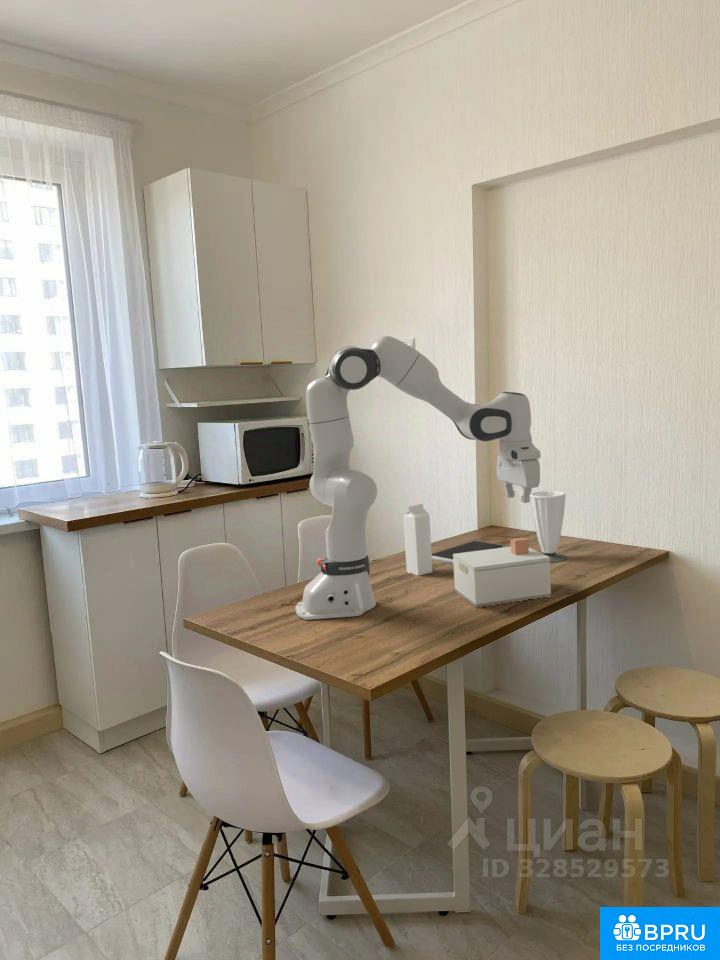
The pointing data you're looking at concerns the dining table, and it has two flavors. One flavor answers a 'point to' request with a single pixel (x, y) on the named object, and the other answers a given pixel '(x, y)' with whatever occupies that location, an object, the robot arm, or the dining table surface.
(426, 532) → the milk
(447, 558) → the smartphone
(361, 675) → the dining table surface
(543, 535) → the cup
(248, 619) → the dining table surface
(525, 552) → the lid
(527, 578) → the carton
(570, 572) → the dining table surface
